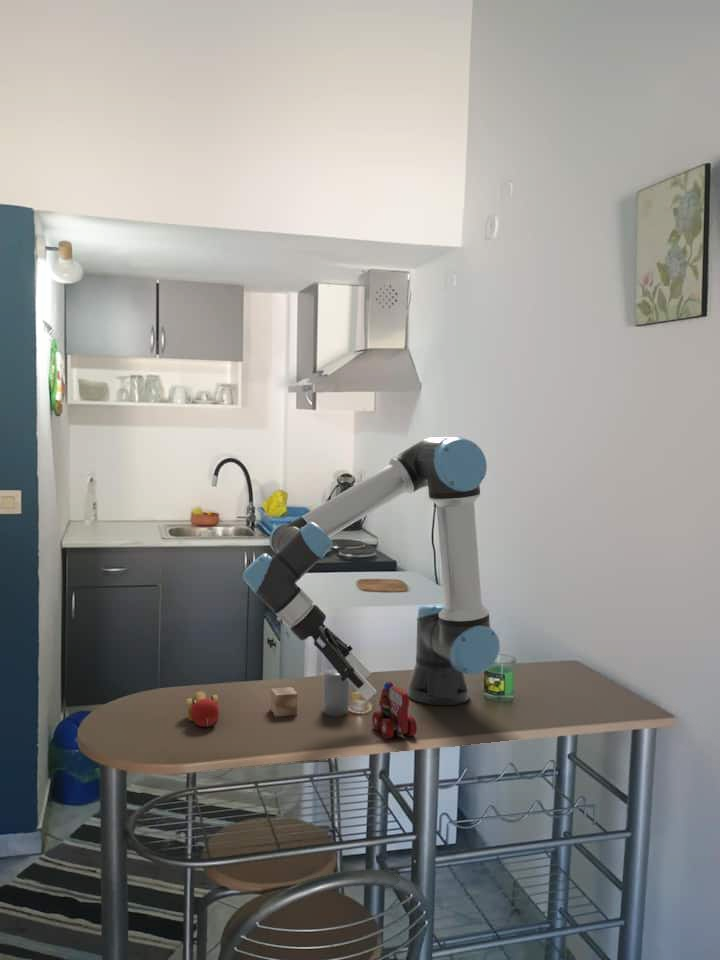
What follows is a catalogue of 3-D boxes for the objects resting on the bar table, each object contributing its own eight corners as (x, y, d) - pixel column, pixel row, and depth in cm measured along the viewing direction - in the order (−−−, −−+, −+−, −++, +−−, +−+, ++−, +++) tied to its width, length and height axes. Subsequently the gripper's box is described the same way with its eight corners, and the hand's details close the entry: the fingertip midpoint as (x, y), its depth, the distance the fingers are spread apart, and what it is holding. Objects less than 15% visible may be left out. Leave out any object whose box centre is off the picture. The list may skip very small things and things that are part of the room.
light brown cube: (291, 708, 195) (292, 687, 195) (296, 715, 191) (297, 693, 190) (270, 709, 194) (271, 688, 194) (275, 717, 189) (276, 695, 189)
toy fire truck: (396, 721, 189) (398, 675, 189) (419, 740, 178) (421, 692, 177) (367, 724, 187) (369, 678, 186) (389, 744, 175) (391, 695, 175)
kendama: (179, 710, 195) (184, 726, 177) (184, 683, 196) (190, 696, 178) (212, 715, 197) (220, 731, 179) (217, 688, 198) (226, 701, 180)
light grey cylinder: (347, 707, 197) (349, 669, 197) (349, 715, 191) (350, 677, 191) (322, 706, 197) (323, 669, 196) (322, 715, 191) (324, 676, 190)
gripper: (289, 614, 191) (352, 680, 193) (288, 642, 166) (360, 717, 168) (313, 592, 191) (376, 658, 193) (315, 616, 166) (387, 692, 168)
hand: (369, 686), depth 181 cm, fingers open, 13 cm apart
